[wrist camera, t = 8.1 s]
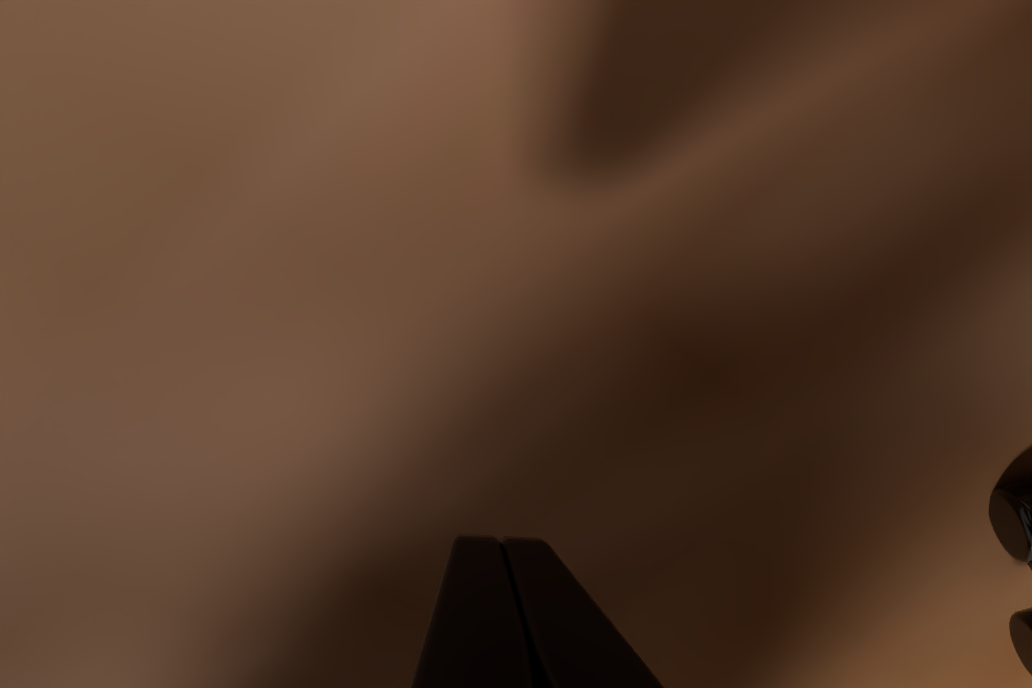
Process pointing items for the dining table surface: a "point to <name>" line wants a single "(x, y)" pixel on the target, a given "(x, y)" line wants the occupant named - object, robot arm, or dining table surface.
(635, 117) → the dining table surface
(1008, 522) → the valve
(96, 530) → the dining table surface
